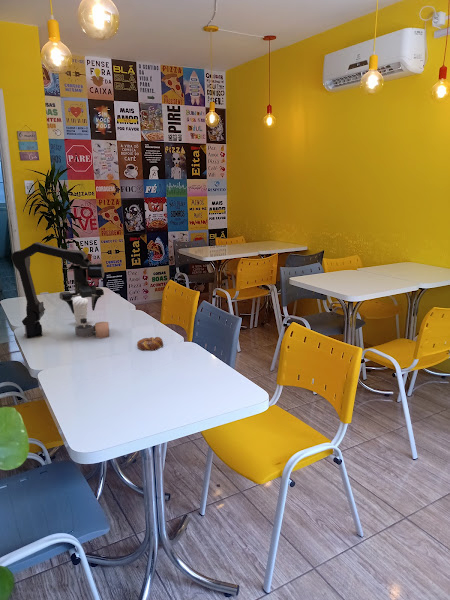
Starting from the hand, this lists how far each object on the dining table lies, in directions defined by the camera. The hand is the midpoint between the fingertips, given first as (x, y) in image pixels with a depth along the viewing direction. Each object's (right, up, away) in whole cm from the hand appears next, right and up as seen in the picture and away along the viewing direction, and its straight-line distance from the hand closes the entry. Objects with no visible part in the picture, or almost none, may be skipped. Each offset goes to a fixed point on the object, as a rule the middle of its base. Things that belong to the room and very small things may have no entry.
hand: (83, 312), depth 206 cm
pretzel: (+33, -15, -13) cm, 39 cm away
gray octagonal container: (+1, -10, +3) cm, 11 cm away
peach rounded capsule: (+9, -11, 0) cm, 14 cm away
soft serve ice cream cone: (-7, -7, +19) cm, 22 cm away
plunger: (0, -10, +2) cm, 10 cm away
